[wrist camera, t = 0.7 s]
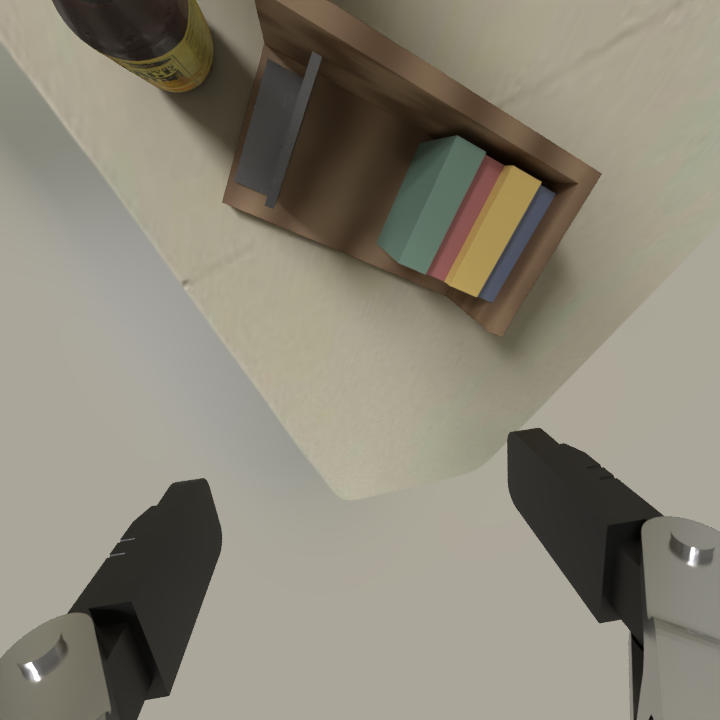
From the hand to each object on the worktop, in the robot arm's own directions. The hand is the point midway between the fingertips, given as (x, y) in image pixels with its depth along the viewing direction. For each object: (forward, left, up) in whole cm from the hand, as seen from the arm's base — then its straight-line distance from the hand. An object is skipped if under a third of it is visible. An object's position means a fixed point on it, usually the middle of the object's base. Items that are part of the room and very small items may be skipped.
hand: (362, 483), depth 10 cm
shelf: (+3, +8, -30) cm, 31 cm away
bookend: (-6, +8, -29) cm, 31 cm away
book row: (+10, +8, -29) cm, 31 cm away
